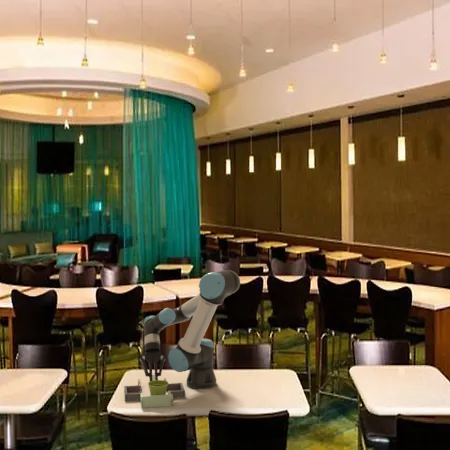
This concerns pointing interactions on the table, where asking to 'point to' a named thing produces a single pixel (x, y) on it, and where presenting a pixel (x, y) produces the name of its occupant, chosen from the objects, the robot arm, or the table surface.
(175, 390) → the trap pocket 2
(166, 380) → the chute
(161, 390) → the plant pot
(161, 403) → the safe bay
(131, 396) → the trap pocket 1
